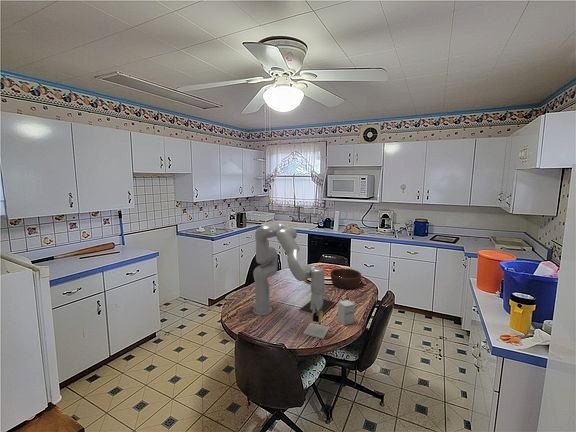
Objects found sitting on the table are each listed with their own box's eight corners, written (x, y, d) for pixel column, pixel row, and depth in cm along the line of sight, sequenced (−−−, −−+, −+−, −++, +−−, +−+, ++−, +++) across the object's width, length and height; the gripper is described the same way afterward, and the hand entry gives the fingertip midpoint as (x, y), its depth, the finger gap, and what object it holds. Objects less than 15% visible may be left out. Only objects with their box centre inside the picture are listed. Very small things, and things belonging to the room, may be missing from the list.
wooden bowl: (327, 280, 250) (327, 268, 248) (354, 279, 252) (355, 267, 251) (334, 291, 225) (335, 279, 223) (365, 290, 228) (366, 278, 226)
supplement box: (344, 325, 174) (344, 306, 172) (337, 320, 180) (337, 301, 179) (354, 323, 177) (354, 304, 175) (347, 318, 183) (347, 299, 182)
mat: (303, 334, 164) (303, 332, 164) (310, 324, 175) (310, 322, 175) (323, 339, 160) (323, 337, 159) (329, 328, 170) (329, 327, 170)
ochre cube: (311, 321, 165) (311, 312, 164) (314, 317, 170) (314, 309, 169) (320, 322, 163) (320, 314, 162) (322, 318, 168) (322, 310, 167)
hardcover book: (335, 305, 203) (335, 302, 202) (320, 318, 183) (320, 315, 183) (314, 299, 211) (314, 296, 211) (299, 312, 192) (299, 308, 192)
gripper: (316, 283, 173) (315, 311, 175) (306, 293, 157) (306, 324, 160) (328, 285, 170) (327, 314, 172) (319, 296, 154) (318, 327, 157)
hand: (317, 318), depth 166 cm, fingers closed on ochre cube, 5 cm apart
